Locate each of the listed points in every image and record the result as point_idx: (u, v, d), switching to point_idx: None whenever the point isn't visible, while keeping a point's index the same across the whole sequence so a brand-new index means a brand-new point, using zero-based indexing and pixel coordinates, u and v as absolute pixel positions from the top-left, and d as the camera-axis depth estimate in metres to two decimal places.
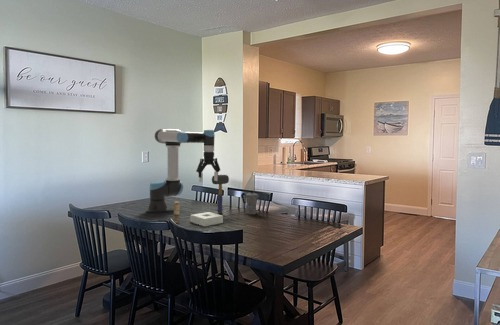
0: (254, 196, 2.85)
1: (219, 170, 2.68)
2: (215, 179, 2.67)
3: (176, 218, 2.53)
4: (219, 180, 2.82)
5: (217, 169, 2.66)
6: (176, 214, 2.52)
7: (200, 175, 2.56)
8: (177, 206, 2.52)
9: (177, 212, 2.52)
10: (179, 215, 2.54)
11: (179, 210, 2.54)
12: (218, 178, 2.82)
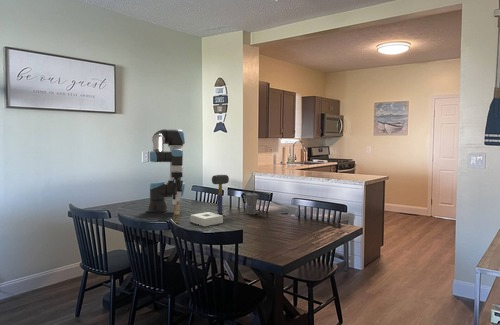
0: (254, 196, 2.85)
1: (181, 190, 2.62)
2: (178, 199, 2.60)
3: (176, 218, 2.53)
4: (219, 180, 2.82)
5: (180, 189, 2.60)
6: (176, 214, 2.52)
7: (175, 197, 2.45)
8: (177, 206, 2.52)
9: (177, 212, 2.52)
10: (179, 215, 2.54)
11: (179, 210, 2.54)
12: (218, 178, 2.82)
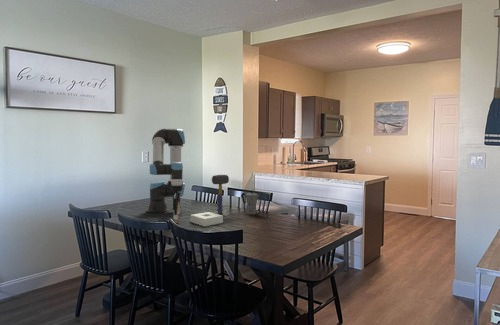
0: (254, 196, 2.85)
1: None
2: None
3: None
4: (219, 180, 2.82)
5: None
6: None
7: (176, 212, 2.51)
8: None
9: None
10: (179, 215, 2.54)
11: (179, 210, 2.54)
12: (218, 178, 2.82)
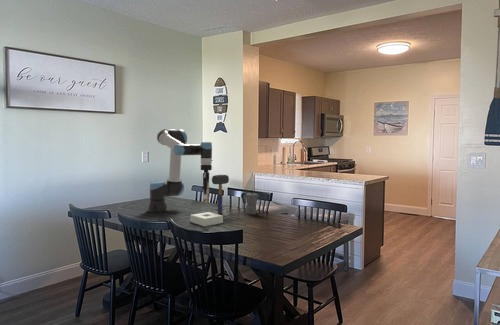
0: (254, 196, 2.85)
1: None
2: None
3: None
4: (219, 180, 2.82)
5: None
6: None
7: (206, 192, 2.51)
8: None
9: None
10: (208, 195, 2.54)
11: (208, 190, 2.54)
12: (218, 178, 2.82)
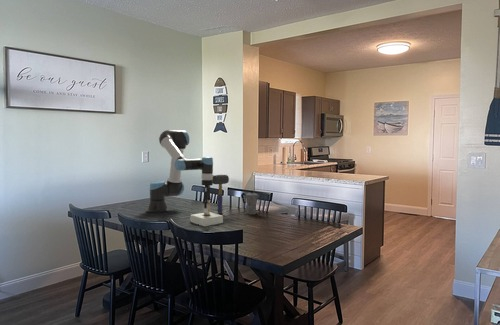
0: (254, 196, 2.85)
1: None
2: None
3: None
4: (219, 180, 2.82)
5: (209, 197, 2.61)
6: (206, 214, 2.54)
7: (206, 206, 2.49)
8: None
9: None
10: (209, 215, 2.55)
11: (209, 210, 2.56)
12: (218, 178, 2.82)
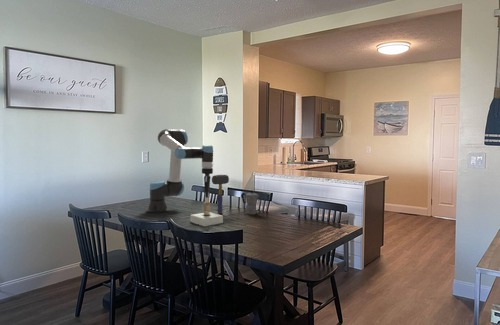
0: (254, 196, 2.85)
1: (209, 190, 2.57)
2: None
3: None
4: (219, 180, 2.82)
5: (209, 189, 2.56)
6: (206, 214, 2.54)
7: (207, 195, 2.54)
8: (207, 206, 2.54)
9: (207, 212, 2.54)
10: (209, 215, 2.55)
11: (209, 210, 2.55)
12: (218, 178, 2.82)
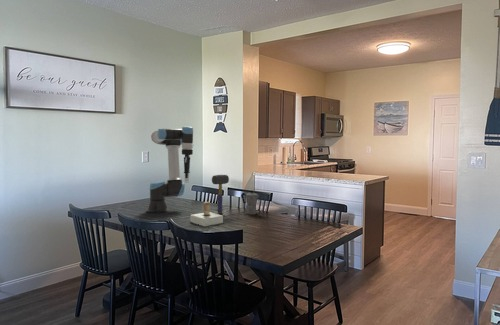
0: (254, 196, 2.85)
1: None
2: None
3: None
4: (219, 180, 2.82)
5: None
6: (206, 214, 2.54)
7: (187, 175, 2.58)
8: (207, 206, 2.54)
9: (207, 212, 2.54)
10: (209, 215, 2.55)
11: (209, 210, 2.55)
12: (218, 178, 2.82)
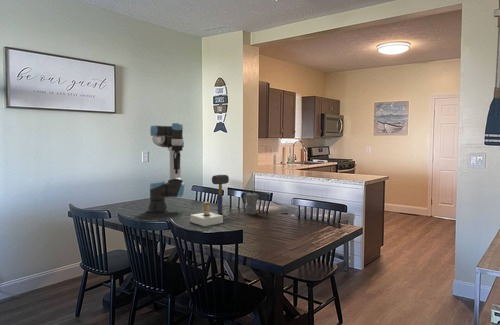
0: (254, 196, 2.85)
1: (179, 167, 2.64)
2: None
3: None
4: (219, 180, 2.82)
5: (179, 166, 2.63)
6: (206, 214, 2.54)
7: (177, 171, 2.60)
8: (207, 206, 2.54)
9: (207, 212, 2.54)
10: (209, 215, 2.55)
11: (209, 210, 2.55)
12: (218, 178, 2.82)
